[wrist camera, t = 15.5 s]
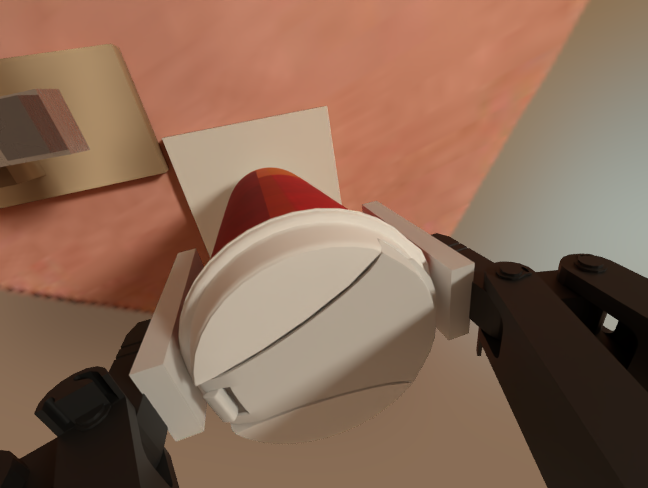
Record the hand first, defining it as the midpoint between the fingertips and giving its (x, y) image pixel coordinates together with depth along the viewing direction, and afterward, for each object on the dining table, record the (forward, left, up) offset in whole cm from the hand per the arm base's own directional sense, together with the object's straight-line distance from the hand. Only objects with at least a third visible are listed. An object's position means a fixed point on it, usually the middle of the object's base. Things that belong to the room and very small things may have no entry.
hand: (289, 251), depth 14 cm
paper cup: (0, 0, -7) cm, 7 cm away
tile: (0, 0, -10) cm, 10 cm away
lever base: (-13, +7, -10) cm, 18 cm away
